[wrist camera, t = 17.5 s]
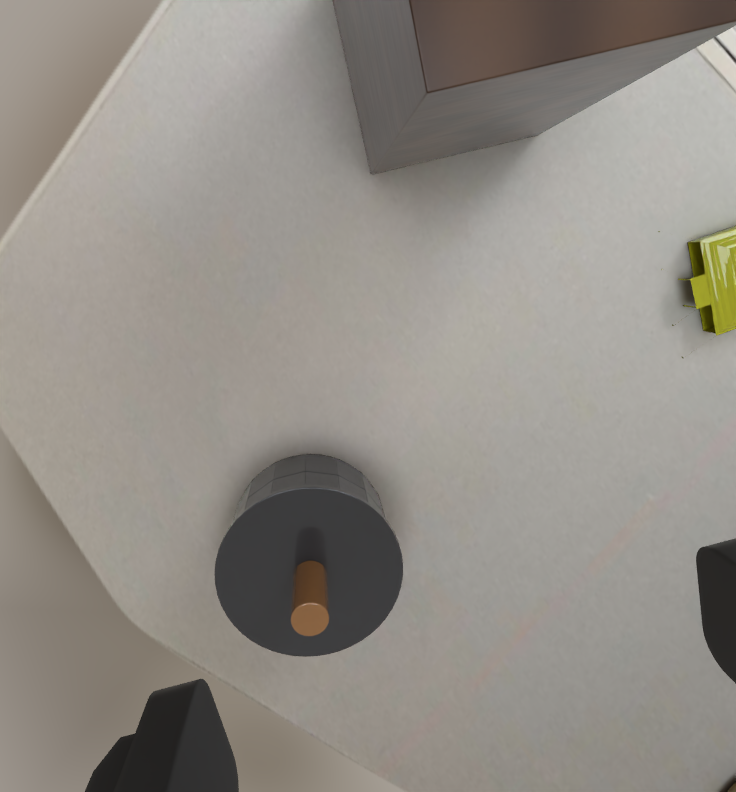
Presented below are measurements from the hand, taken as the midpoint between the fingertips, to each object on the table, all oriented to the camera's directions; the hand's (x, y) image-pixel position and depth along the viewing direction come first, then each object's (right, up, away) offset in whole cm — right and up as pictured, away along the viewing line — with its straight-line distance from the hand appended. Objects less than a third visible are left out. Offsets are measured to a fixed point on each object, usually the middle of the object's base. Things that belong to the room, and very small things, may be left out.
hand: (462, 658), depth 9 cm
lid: (-5, -7, +29) cm, 30 cm away
